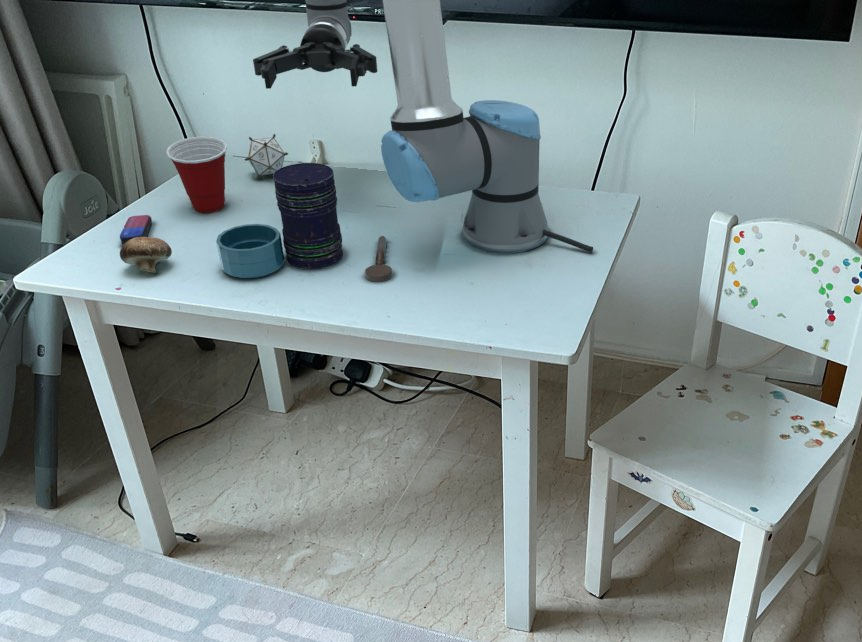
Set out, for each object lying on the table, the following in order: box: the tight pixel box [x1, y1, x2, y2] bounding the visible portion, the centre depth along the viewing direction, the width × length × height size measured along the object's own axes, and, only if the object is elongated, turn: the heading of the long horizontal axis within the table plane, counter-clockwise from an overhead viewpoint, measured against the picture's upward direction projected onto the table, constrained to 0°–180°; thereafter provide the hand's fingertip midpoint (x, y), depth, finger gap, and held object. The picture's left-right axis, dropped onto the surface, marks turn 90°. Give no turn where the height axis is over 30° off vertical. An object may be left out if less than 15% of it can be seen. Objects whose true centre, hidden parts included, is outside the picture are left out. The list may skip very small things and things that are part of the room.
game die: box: [244, 133, 289, 181], centre depth 182 cm, size 9×8×10 cm
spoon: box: [364, 235, 393, 283], centre depth 153 cm, size 15×4×1 cm, turn 4°
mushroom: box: [119, 236, 173, 274], centre depth 149 cm, size 8×8×6 cm
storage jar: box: [272, 162, 344, 271], centre depth 150 cm, size 10×10×15 cm
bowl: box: [215, 223, 285, 279], centre depth 150 cm, size 10×10×6 cm
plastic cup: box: [165, 136, 228, 214], centre depth 168 cm, size 11×11×12 cm
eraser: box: [119, 214, 153, 246], centre depth 161 cm, size 11×4×2 cm, turn 9°
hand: (310, 78), depth 143 cm, fingers open, 13 cm apart
